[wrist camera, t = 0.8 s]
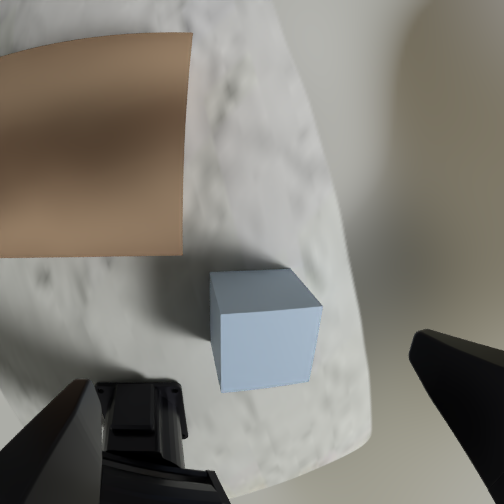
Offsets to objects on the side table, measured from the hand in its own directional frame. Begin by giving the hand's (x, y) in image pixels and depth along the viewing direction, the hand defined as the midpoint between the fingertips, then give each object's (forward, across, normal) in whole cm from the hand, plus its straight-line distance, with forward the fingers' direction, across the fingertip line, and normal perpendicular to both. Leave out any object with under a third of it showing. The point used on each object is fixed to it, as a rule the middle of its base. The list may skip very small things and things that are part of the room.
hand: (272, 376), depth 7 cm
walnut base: (+12, +6, -6) cm, 15 cm away
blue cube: (+12, -2, +4) cm, 13 cm away
